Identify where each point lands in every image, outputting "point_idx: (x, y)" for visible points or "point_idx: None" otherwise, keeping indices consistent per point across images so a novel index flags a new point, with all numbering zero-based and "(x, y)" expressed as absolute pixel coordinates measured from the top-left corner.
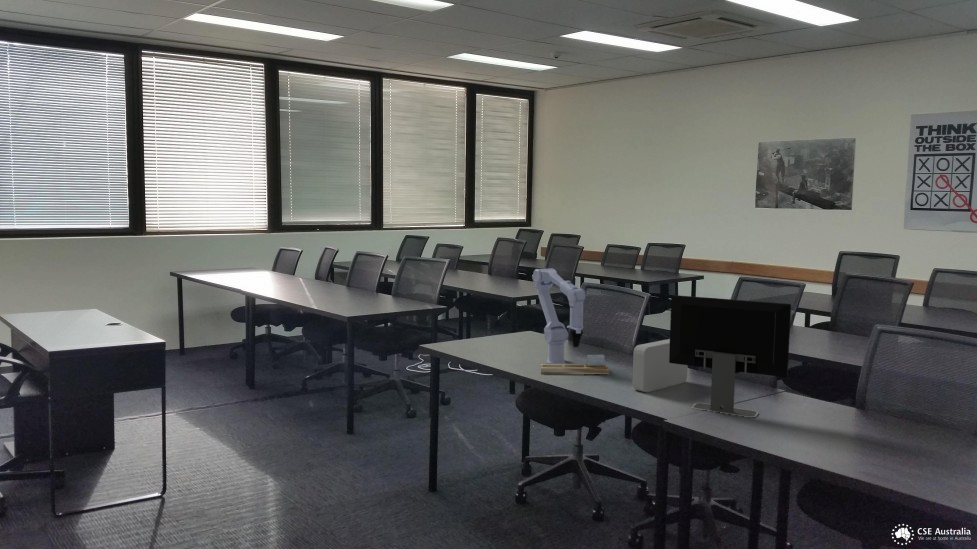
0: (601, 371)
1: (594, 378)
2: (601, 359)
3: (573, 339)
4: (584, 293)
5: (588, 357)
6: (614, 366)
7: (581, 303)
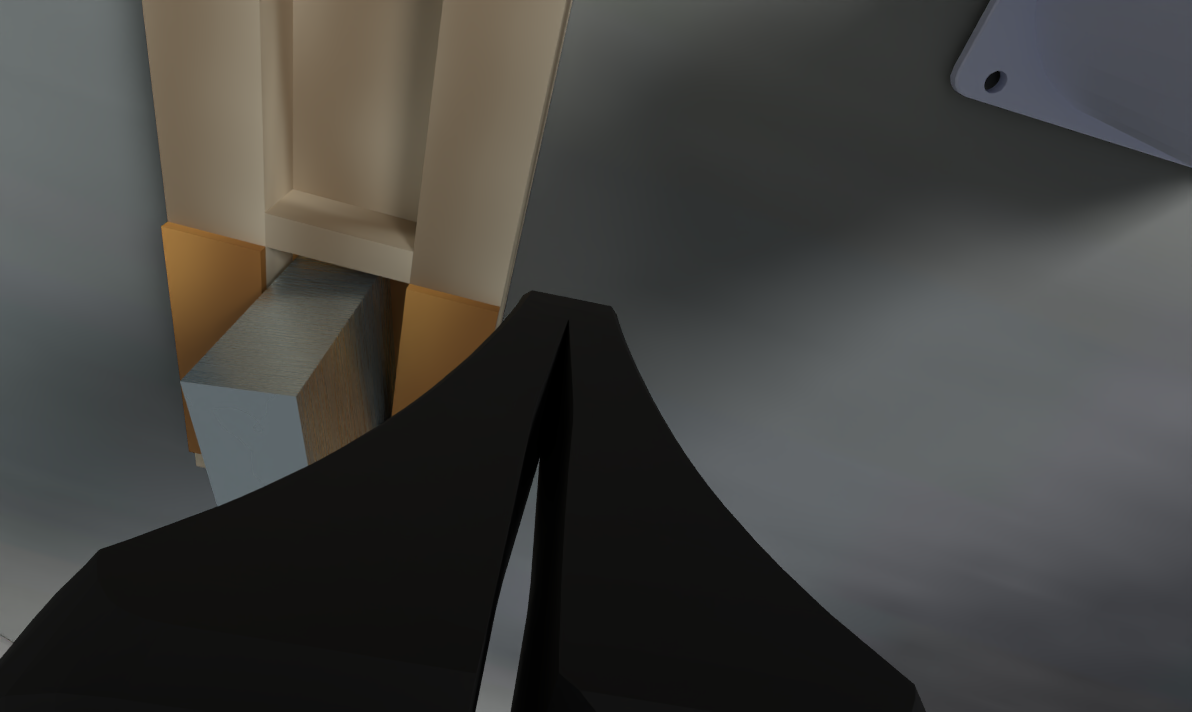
0: None
1: (7, 204)
2: None
3: (412, 418)
4: None
5: (206, 364)
6: None
7: None
